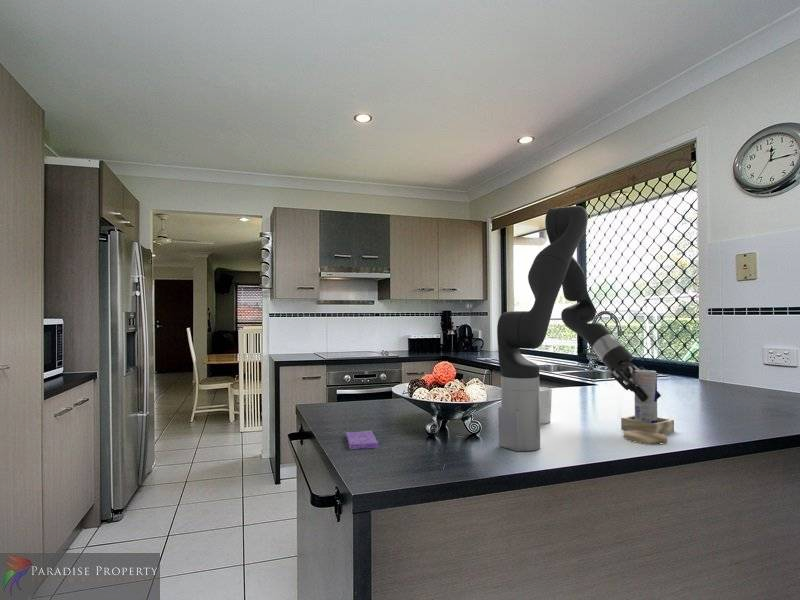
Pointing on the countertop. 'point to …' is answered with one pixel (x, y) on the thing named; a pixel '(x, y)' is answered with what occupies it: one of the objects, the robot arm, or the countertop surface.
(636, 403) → the beverage can
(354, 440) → the sponges
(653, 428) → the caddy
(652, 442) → the disc
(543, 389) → the white cup
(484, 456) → the countertop surface
